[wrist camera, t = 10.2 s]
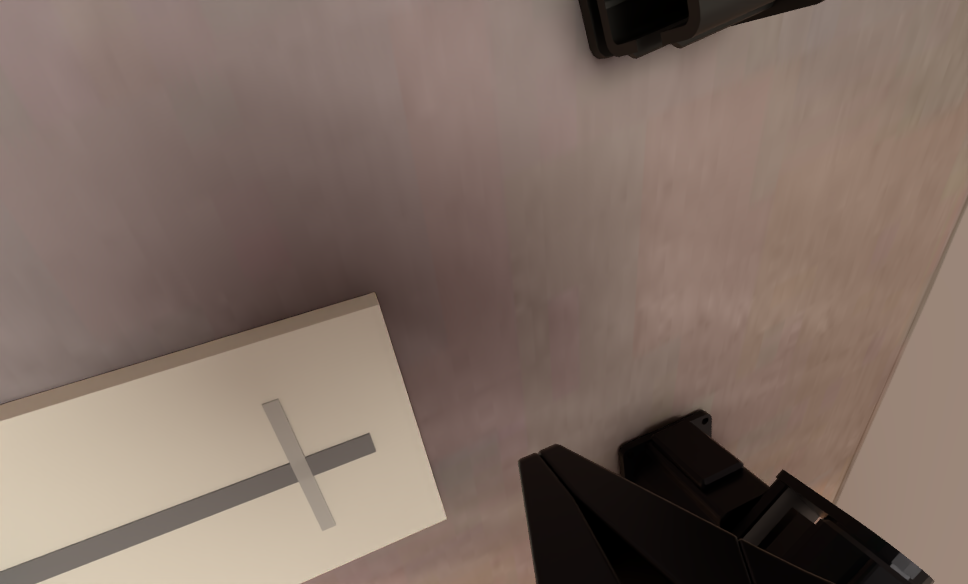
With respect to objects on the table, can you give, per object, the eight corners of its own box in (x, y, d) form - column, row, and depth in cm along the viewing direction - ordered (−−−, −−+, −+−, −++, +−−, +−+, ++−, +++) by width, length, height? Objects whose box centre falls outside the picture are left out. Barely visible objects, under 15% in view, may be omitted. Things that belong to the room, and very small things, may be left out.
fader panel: (439, 497, 23) (447, 520, 22) (-131, 739, 18) (-170, 793, 16) (375, 292, 19) (379, 305, 17) (-431, 534, 13) (-523, 584, 12)
